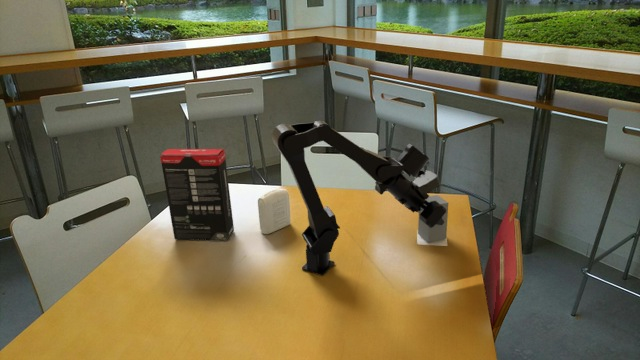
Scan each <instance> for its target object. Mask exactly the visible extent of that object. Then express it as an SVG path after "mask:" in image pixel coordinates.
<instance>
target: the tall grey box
mask: <svg viewBox="0 0 640 360" xmlns="http://www.w3.org/2000/svg"><path fill="white" fill-rule="evenodd" d="M425 200H426V201H428V202H431V201H437V202H438V203H439V204H441V205H442V206H443V207H444V208H446V209H447V210H446V213H445V214H444V215H443V216H442V219H443V221H444V224H443V225H437V224H435V226H434V227H432V228H430V227H429V226H428V225H426V224H425V223H424V222H423V221H422V220H420V213H421V212H422V211H423V210H424V209H423V208H421V207H420V208H421V210H420V211H419V213H418V219H417V220H418V221H417V222H418V225H417V226H418V228H417V230H418V234H419V235H420V236H421V237H422V238H423V239H424V240H425V241H427V242H428V243H430V242H435V241H439V240H444V239H446V237H447V232H448V230H447V229H448V217H449V202H448V201H447V200H446V199H444V198H443V197H441V196H440V195H438V194H435V195H429V197H428V198H427V199H425ZM424 205H425V204H424ZM425 206H427V205H425Z"/></svg>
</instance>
